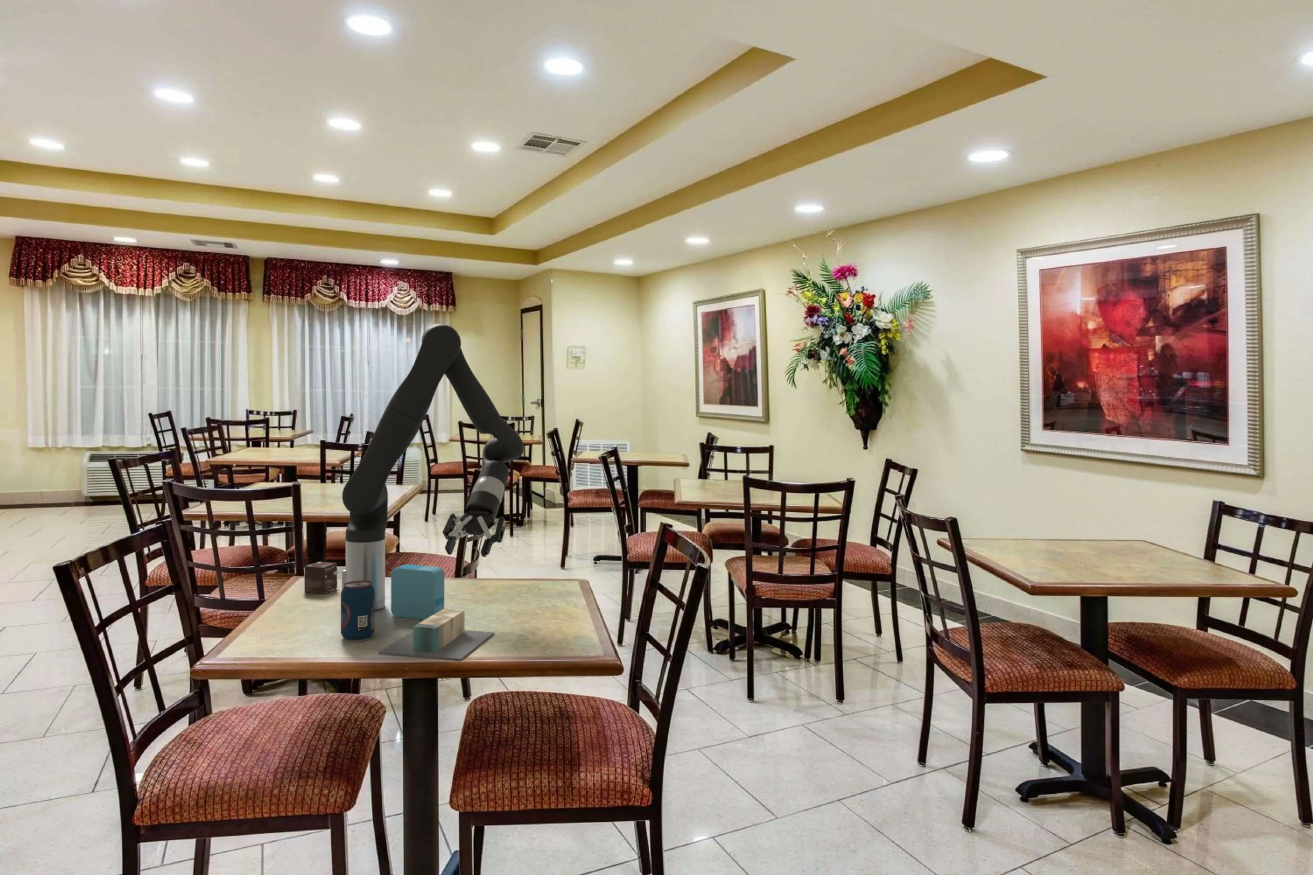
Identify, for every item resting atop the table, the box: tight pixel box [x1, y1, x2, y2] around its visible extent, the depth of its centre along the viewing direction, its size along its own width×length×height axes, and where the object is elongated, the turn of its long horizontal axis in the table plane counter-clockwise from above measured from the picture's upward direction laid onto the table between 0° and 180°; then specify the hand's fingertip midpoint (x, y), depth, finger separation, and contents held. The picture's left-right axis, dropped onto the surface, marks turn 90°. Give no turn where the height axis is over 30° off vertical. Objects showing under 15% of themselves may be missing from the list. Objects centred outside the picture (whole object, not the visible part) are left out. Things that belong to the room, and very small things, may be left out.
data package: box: [390, 563, 445, 621], centre depth 185 cm, size 12×4×12 cm, turn 74°
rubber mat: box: [378, 629, 495, 662], centre depth 165 cm, size 18×18×1 cm
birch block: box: [412, 608, 466, 652], centre depth 166 cm, size 5×5×14 cm
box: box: [304, 561, 338, 594], centre depth 207 cm, size 6×6×7 cm
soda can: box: [340, 581, 376, 642], centre depth 168 cm, size 7×7×12 cm
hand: (465, 553), depth 178 cm, fingers open, 8 cm apart
